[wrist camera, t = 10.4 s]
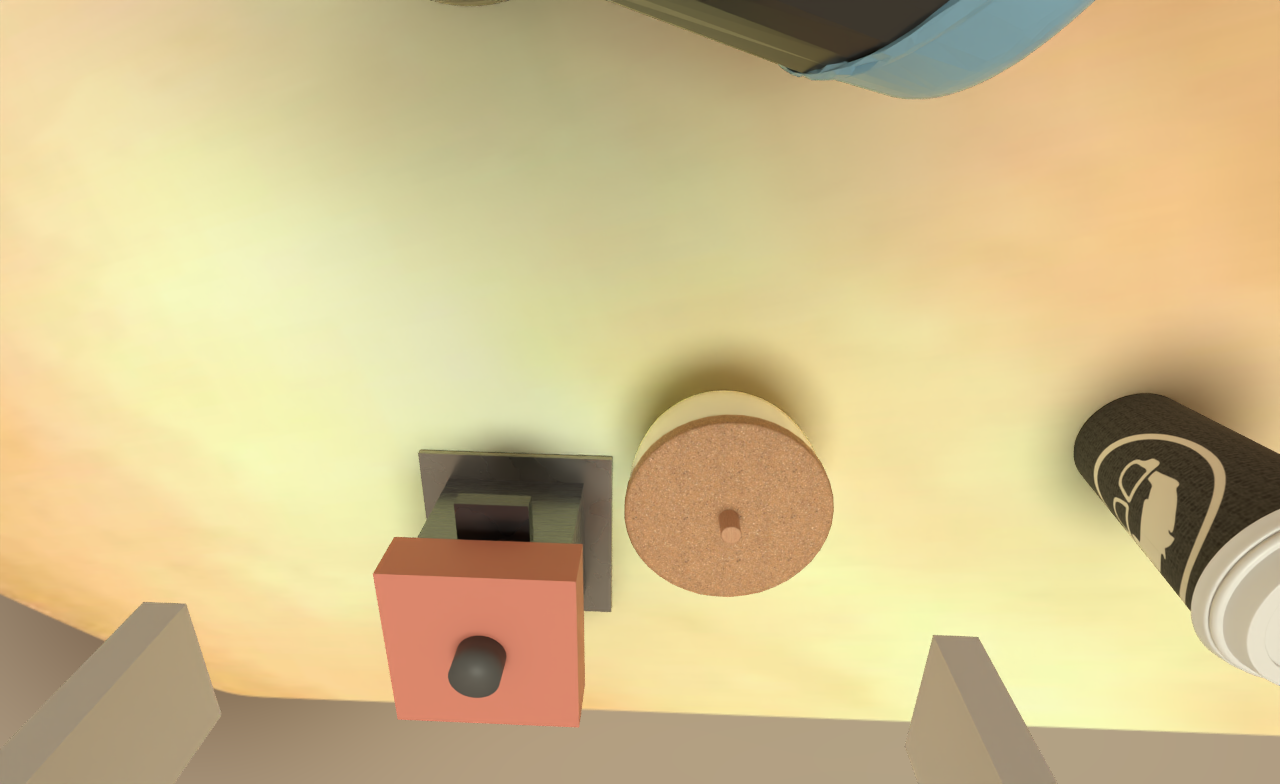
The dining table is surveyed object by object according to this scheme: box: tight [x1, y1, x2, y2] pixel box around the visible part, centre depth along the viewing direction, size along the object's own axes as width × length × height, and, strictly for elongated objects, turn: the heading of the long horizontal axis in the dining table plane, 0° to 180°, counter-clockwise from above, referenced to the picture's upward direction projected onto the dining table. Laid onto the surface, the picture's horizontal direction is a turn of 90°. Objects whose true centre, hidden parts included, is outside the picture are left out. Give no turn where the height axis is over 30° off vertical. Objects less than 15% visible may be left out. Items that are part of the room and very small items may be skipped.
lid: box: [373, 537, 585, 727], centre depth 37 cm, size 10×10×5 cm
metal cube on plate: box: [418, 450, 612, 612], centre depth 43 cm, size 13×12×8 cm
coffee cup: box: [1074, 394, 1280, 686], centre depth 35 cm, size 10×10×15 cm
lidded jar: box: [625, 390, 834, 597], centre depth 39 cm, size 11×11×9 cm
